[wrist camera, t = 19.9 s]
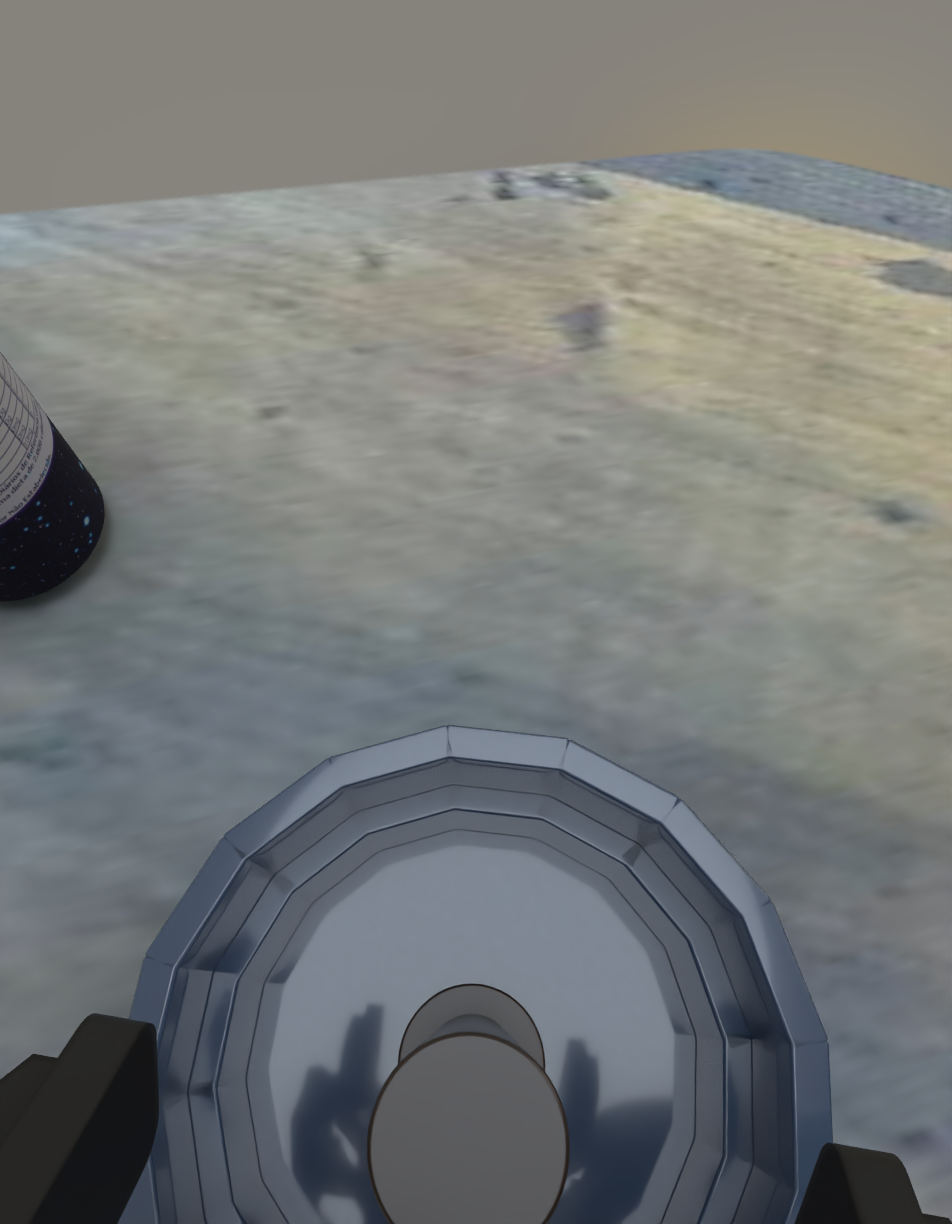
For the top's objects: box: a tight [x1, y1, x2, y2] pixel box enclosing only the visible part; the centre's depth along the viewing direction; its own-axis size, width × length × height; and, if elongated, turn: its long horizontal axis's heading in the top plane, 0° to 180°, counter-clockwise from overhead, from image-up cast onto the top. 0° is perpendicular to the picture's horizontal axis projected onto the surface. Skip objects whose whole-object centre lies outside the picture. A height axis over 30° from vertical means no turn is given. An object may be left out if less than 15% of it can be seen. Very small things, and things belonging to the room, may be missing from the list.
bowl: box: [118, 725, 833, 1224], centre depth 21 cm, size 15×15×6 cm
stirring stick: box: [367, 983, 570, 1224], centre depth 16 cm, size 4×4×15 cm
